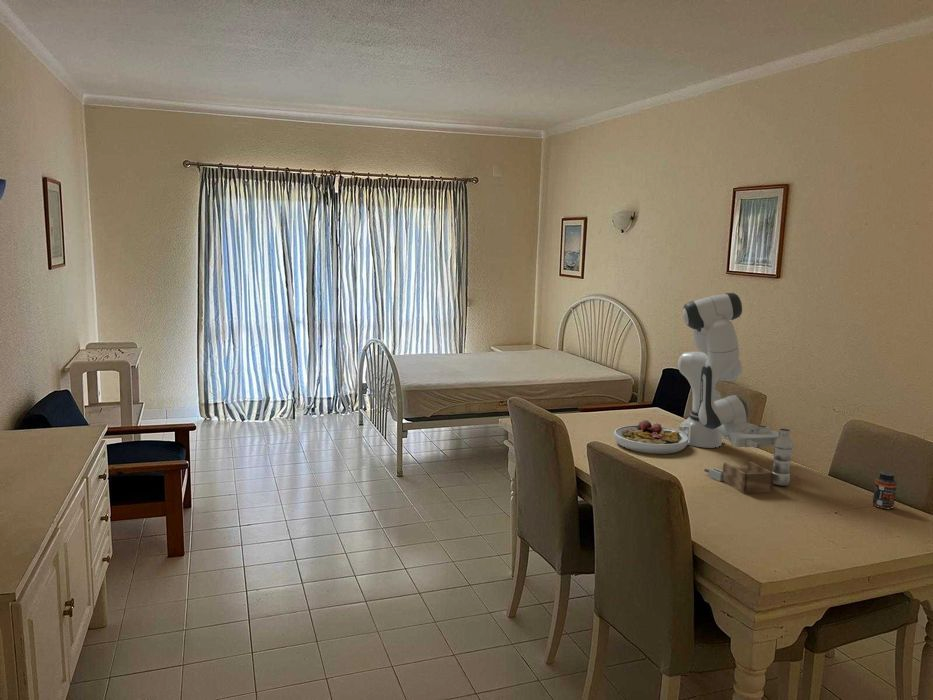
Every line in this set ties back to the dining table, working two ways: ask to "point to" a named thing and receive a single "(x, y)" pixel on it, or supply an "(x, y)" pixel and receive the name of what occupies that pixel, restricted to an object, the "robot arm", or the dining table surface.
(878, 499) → the supplement bottle
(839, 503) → the dining table surface
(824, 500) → the dining table surface
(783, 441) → the plastic bottle
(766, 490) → the end cradle
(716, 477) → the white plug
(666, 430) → the bowl
